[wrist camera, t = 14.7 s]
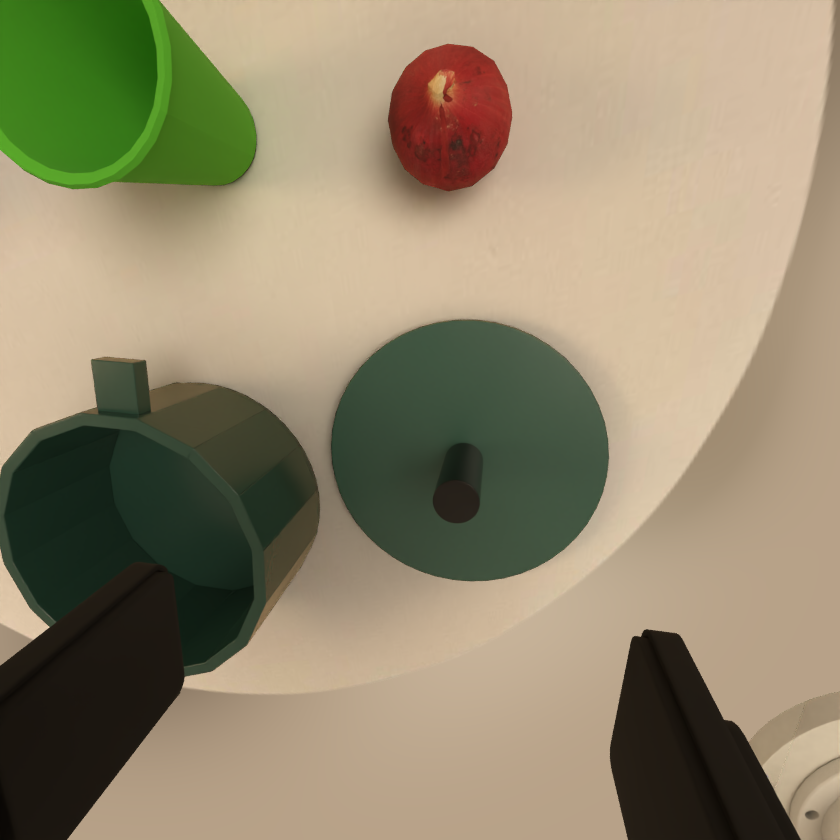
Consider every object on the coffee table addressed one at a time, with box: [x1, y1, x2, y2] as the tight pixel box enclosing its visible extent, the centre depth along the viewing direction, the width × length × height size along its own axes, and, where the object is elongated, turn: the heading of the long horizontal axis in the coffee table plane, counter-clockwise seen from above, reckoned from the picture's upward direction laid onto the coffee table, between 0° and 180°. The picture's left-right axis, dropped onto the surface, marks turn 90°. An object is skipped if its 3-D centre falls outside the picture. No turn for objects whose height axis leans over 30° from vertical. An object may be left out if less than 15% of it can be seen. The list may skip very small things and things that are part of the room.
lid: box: [331, 320, 609, 581], centre depth 28 cm, size 17×17×7 cm
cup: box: [0, 0, 256, 189], centre depth 23 cm, size 9×9×11 cm
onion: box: [388, 44, 512, 191], centre depth 23 cm, size 6×6×8 cm
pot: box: [0, 357, 320, 703], centre depth 31 cm, size 16×22×8 cm
